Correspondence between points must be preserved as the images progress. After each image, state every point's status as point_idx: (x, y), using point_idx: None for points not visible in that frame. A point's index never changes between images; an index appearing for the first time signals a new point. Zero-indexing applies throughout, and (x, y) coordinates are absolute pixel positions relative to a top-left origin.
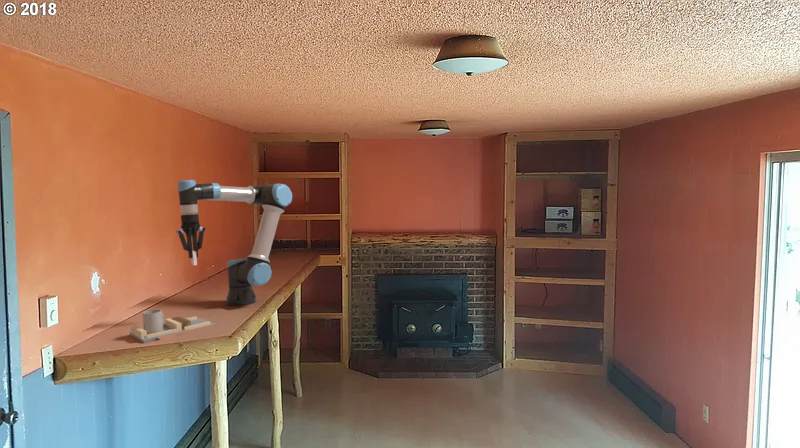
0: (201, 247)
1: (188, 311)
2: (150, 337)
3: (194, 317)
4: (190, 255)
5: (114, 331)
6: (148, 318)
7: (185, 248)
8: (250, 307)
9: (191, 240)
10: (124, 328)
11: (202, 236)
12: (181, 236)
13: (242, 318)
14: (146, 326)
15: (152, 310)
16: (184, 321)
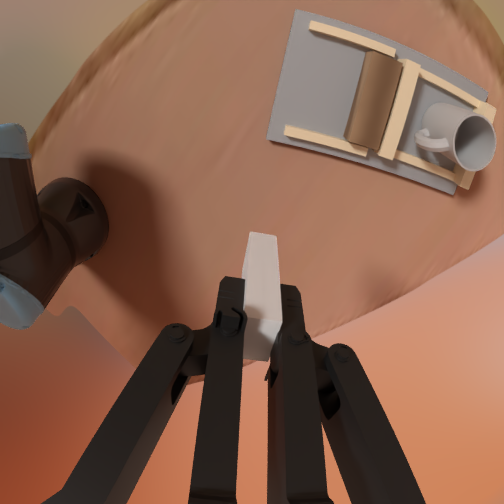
0: (164, 330)
1: (216, 264)
2: (471, 93)
3: (295, 127)
4: (296, 305)
5: (432, 256)
6: (485, 127)
7: (360, 365)
8: (80, 136)
9: (287, 443)
10: (408, 259)
11: (99, 449)
12: (421, 495)
13: (177, 22)
14: (473, 129)
15: (459, 162)
16: (388, 66)
